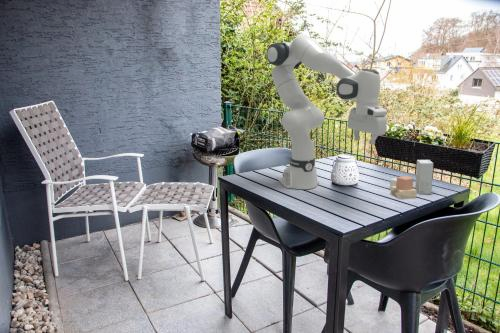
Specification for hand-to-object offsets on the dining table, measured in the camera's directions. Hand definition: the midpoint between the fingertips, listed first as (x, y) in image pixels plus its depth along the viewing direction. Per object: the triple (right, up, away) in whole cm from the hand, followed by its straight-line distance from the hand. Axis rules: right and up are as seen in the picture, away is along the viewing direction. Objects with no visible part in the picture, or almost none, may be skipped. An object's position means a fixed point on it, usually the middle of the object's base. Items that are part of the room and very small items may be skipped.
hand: (364, 142), depth 160 cm
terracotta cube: (+22, -20, +12) cm, 32 cm away
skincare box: (+33, -22, +19) cm, 44 cm away
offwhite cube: (+23, -22, +23) cm, 39 cm away
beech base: (+22, -24, +13) cm, 35 cm away
